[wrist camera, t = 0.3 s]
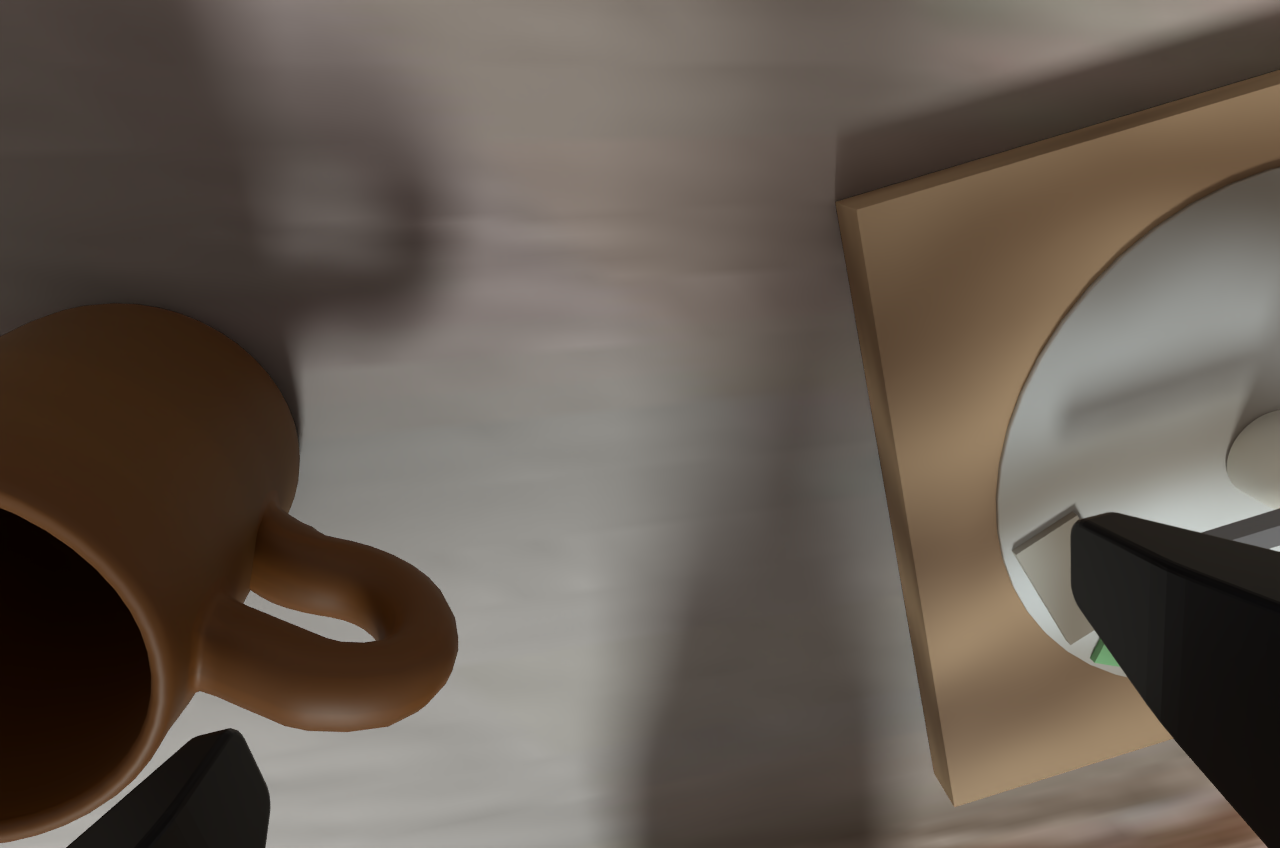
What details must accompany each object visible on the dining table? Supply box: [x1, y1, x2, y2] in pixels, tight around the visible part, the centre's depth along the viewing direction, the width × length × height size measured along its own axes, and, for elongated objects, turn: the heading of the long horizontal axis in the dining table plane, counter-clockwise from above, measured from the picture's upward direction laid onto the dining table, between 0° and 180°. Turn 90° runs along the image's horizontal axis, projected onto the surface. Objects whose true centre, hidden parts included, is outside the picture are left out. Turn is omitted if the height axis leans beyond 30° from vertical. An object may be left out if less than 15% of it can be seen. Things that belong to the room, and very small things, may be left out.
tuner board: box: [835, 70, 1280, 807], centre depth 25 cm, size 20×21×2 cm
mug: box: [0, 303, 458, 843], centre depth 18 cm, size 12×8×9 cm, turn 74°
